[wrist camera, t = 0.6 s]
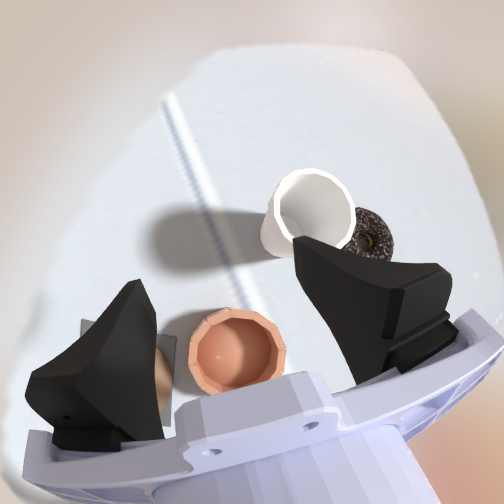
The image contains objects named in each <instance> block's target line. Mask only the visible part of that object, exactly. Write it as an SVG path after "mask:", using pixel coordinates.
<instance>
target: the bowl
mask: <svg viewBox="0 0 504 504" xmlns="http://www.w3.org/2000/svg"><path fill="white" fill-rule="evenodd" d="M206 318H207V319H206ZM206 318H205V317H204V318H203V320H202V321H201V322H200V324H199V325H198V326H197V328H196V329H195V330H194V332H193V333H192V335H191V338H190V347H189V358H188V367H189V369H190V371H191V373H192V375H193V377H194V379H195V381H196V383H197V384H198V386H199V387H200V389H202V390H204V391H205V392H207V393H208V394H210V395H214V394H218V393H222V392H227V391H231V390H235V389H239V388H242V387H246V386H250V385H253V384H257V383H261V382H264V381H267V380H271V379H274V378H277V377H280V376H281V375H282V374H283V373H282V372H284V364H285V357H286V349H285V348H286V346H285V344H284V342H283V339H282V337H281V335H280V332H279V330H278V328H277V327H276V325H274V324H273V323H271V322H270V321H269V320H267V319H266V318H264V317H263V316H262V315H260V314H259V313H258V312H255V311H252V310H246V309H237V308H229V307H227V308H224V309H221V310H219V311H217V312H214V313H212V314H210V315H207V316H206Z"/></svg>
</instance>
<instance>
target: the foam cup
mask: <svg viewBox="0 0 504 504" xmlns="http://www.w3.org/2000/svg"><path fill="white" fill-rule="evenodd" d="M355 225H356V215H355V205H354V202H353V200H352V198H351V197H350V195H349V193H348V191H347V189H346V187H345V186H344V185H343V184H342V183H340V182H339V181H338V180H337V179H336V178H335V177H334V176H333V175H332V174H329V173H326V172H324V171H321V170H318V169H315V168H310V169H298V170H295V171H294V172H292V173H291V174H289V175H288V176H286V177H285V178H283V179H282V180H281V182H280V183H279V184H278V186H277V187H276V189H275V191H274V193H273V195H272V197H271V199H270V201H269V203H268V210H267V213H266V216H265V218H264V221H263V224H262V227H261V230H260V240H261V242H262V245H263V247H264V249H265V250H266V251H268V252H269V253H270V254H271V255H273V256H277V257H281V258H293V257H294V251H293V242H292V238H296V237H300V236H304V235H305V236H308V237H311V238H314V239H316V240H319V241H321V242H324V243H326V244H329V245H331V246H334V247H337V248H339V249H341V248H342V247H343V246H344V245H345V244H346V243H348V242H349V241H350V240H351V237H352V234H353V231H354V228H355Z"/></svg>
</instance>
